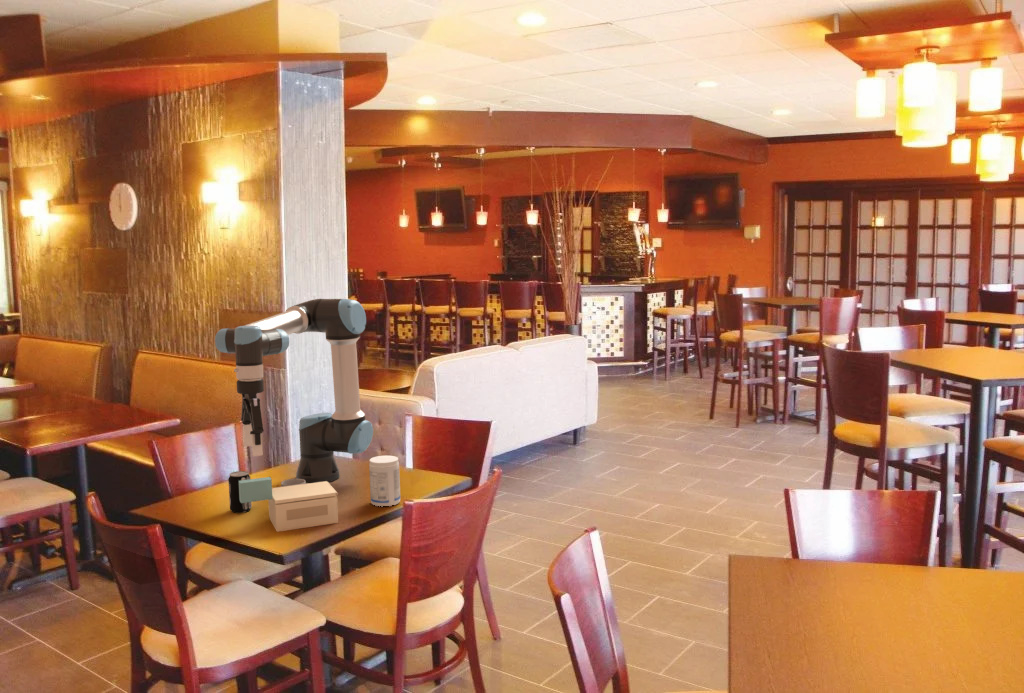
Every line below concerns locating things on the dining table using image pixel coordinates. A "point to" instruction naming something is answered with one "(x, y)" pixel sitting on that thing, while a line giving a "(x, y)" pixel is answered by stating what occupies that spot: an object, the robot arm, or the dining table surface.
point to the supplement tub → (384, 480)
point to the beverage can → (237, 492)
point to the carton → (303, 513)
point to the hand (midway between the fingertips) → (253, 450)
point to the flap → (282, 491)
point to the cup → (292, 482)
